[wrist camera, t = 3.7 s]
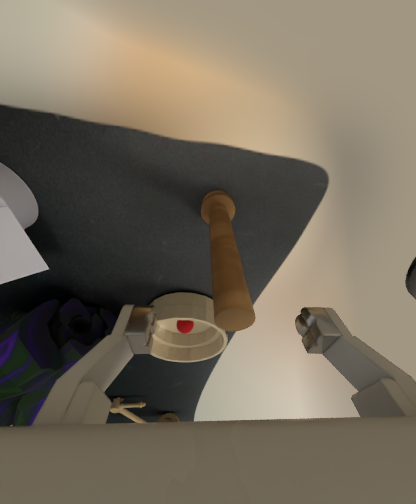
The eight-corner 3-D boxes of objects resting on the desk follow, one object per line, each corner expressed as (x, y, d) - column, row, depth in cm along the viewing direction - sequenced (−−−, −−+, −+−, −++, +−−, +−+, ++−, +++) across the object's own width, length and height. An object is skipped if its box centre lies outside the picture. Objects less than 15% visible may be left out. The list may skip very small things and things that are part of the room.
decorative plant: (134, 287, 44) (45, 352, 46) (-15, 232, 23) (-165, 359, 25) (158, 380, 32) (35, 462, 34) (-111, 449, 11) (-380, 650, 13)
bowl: (229, 291, 31) (233, 319, 27) (219, 336, 40) (221, 362, 36) (141, 288, 31) (130, 316, 26) (152, 334, 40) (145, 361, 35)
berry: (194, 311, 34) (193, 327, 31) (193, 321, 36) (193, 337, 33) (177, 311, 34) (175, 327, 31) (177, 321, 36) (175, 336, 33)
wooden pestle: (235, 191, 21) (283, 297, 8) (230, 221, 23) (262, 340, 11) (201, 189, 21) (198, 294, 8) (200, 220, 23) (196, 339, 11)
